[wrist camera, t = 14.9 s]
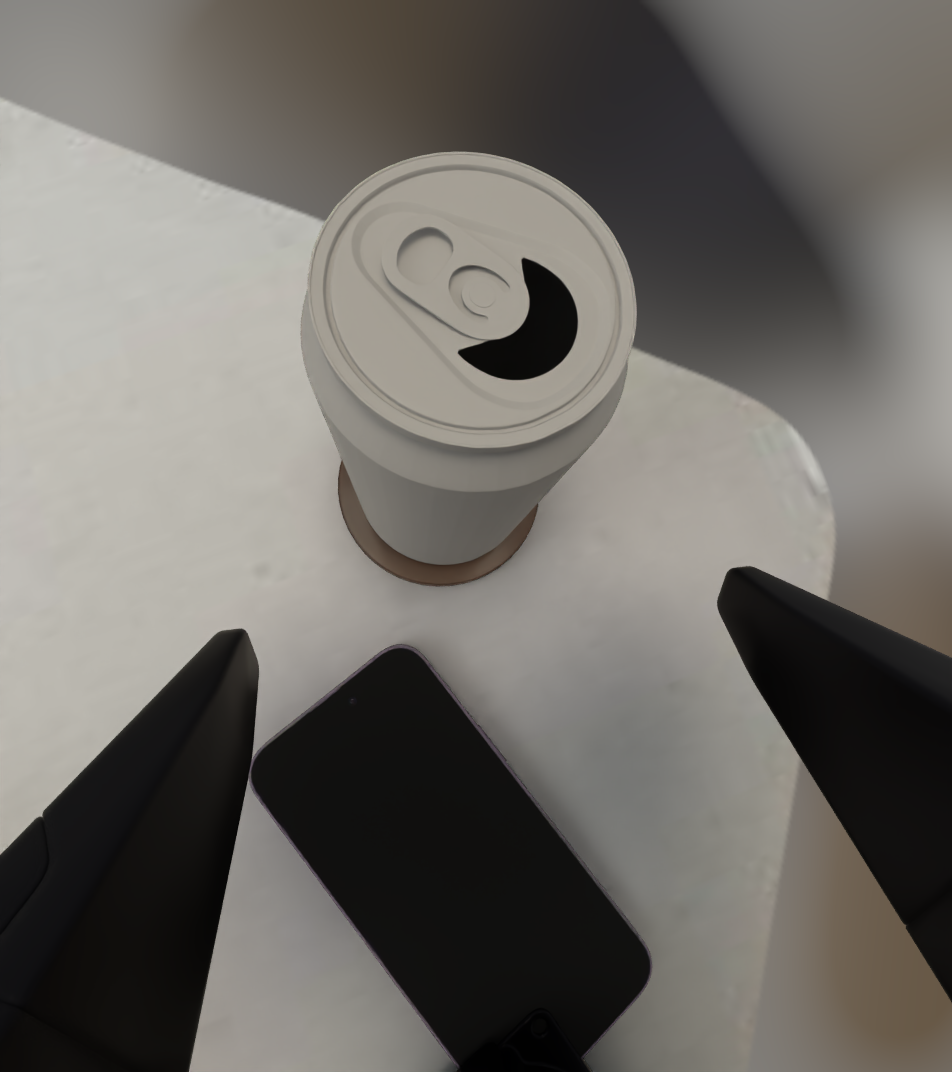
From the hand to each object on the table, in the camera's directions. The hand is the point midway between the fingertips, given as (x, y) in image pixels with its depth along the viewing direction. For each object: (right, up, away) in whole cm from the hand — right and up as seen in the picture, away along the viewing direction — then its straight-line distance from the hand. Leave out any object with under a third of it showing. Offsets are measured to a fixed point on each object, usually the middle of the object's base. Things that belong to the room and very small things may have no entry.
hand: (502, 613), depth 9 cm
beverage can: (-2, +3, +11) cm, 12 cm away
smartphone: (-1, -10, +9) cm, 14 cm away
